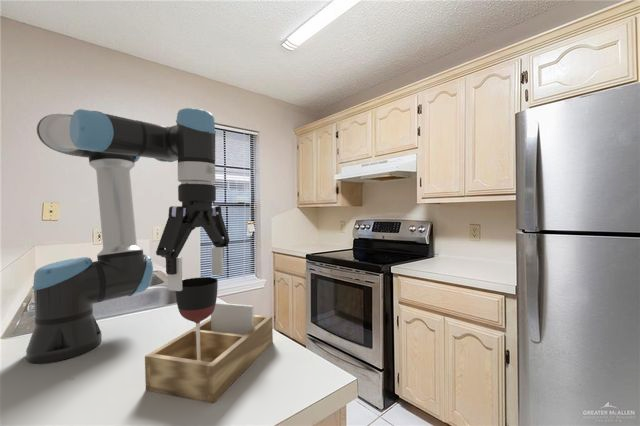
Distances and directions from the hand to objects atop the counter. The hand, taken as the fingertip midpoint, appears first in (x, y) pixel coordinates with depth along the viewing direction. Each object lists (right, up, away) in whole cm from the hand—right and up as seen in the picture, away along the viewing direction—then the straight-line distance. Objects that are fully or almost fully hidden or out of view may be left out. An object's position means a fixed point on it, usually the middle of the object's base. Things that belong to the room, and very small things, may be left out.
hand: (198, 281), depth 64 cm
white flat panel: (+4, -19, +12) cm, 23 cm away
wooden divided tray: (+2, -21, +6) cm, 22 cm away
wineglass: (0, -20, 0) cm, 20 cm away
